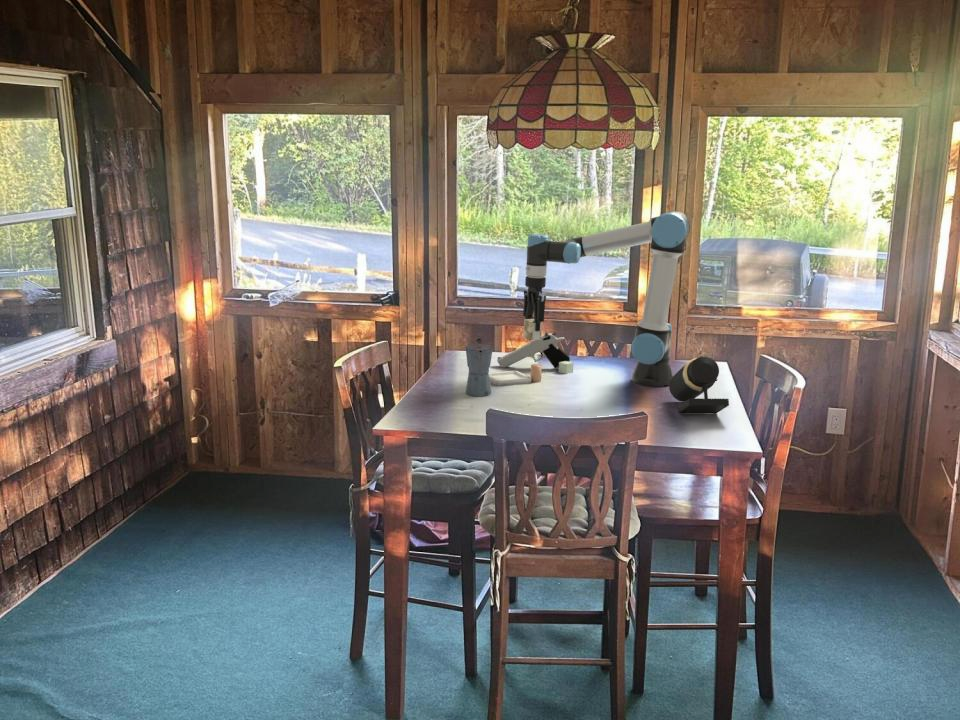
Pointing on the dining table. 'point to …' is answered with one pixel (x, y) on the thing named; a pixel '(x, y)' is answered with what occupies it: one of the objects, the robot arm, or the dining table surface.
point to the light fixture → (697, 386)
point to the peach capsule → (536, 373)
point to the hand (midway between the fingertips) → (532, 337)
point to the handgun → (544, 346)
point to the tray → (508, 378)
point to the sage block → (566, 367)
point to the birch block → (530, 329)
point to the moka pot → (478, 368)
